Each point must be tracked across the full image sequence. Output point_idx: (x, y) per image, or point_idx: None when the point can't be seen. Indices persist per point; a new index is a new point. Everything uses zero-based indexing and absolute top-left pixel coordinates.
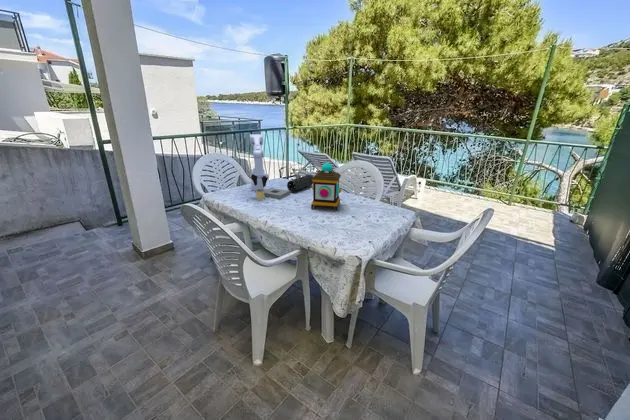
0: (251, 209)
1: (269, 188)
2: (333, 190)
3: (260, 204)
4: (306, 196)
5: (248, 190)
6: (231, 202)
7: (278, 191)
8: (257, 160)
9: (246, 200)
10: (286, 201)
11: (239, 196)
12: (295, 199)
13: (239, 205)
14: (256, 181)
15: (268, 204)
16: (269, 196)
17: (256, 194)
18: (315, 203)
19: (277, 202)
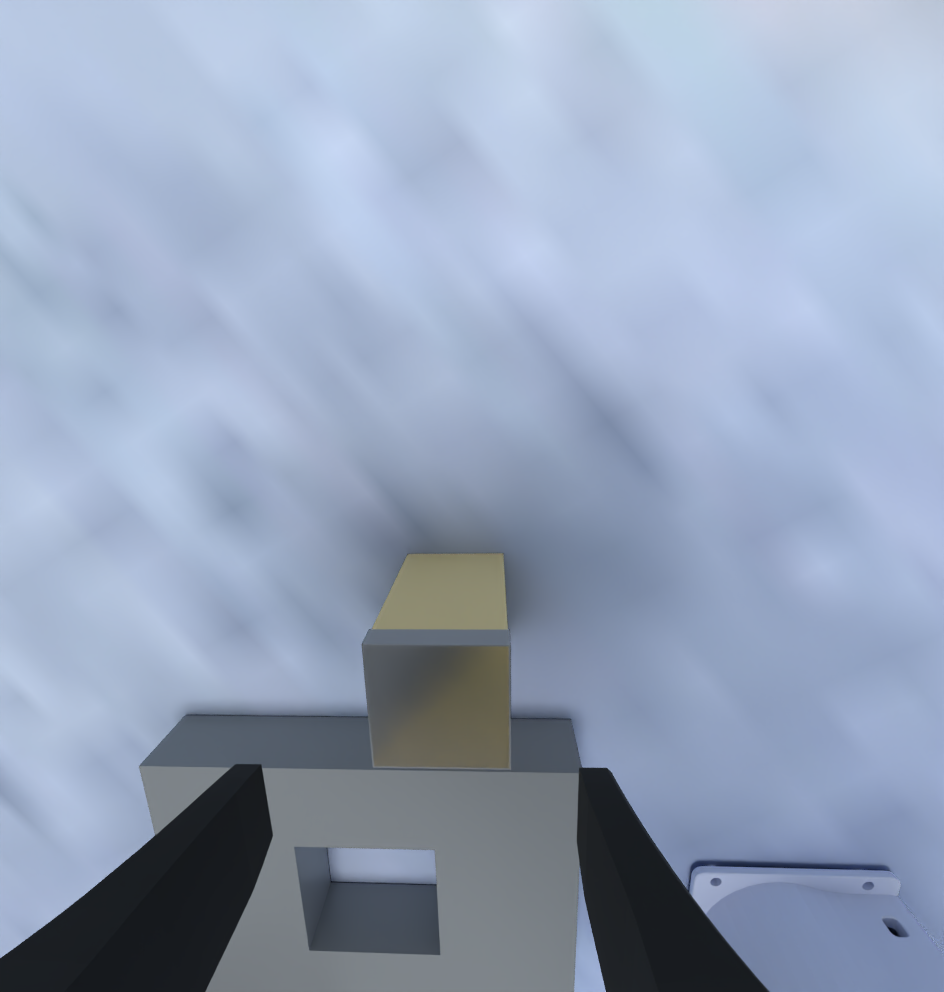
0: (176, 15)
1: (568, 987)
2: None
3: (253, 361)
4: (4, 954)
5: (937, 852)
6: (833, 142)
7: (355, 936)
8: None
9: (627, 411)
10: (42, 685)
11: (900, 532)
12: (15, 806)
13: (552, 78)
14: (611, 981)
15: (145, 434)
16: None
17: (504, 594)
18: None
19: (109, 586)
